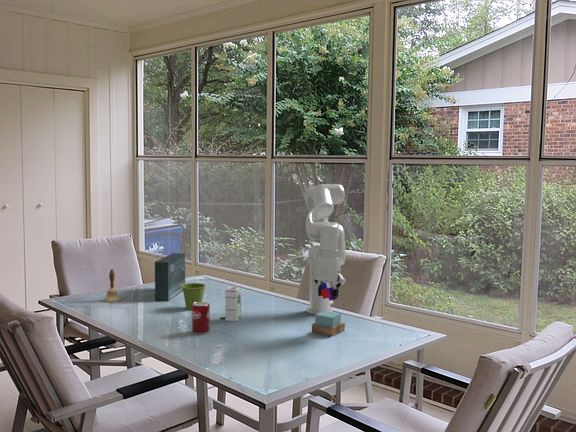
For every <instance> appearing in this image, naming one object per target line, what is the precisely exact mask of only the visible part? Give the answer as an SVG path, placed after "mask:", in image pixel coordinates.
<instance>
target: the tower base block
mask: <svg viewBox="0 0 576 432" xmlns="http://www.w3.org/2000/svg"><path fill="white" fill-rule="evenodd" d="M345 325H346V324H345V322H344V321H343V322H342V321H341V323H339V324H337V325H336V326H334V327H329V326H322V325H316V324H315V322H314V323H313V322H312V324H311V333H312V334H318V335H323V336H326V335H327V337H331V336H333V337H334V336H335V337H336V336H338V335H339V334H341V332H342V333H344V332H345V328H346V327H345ZM343 331H344V332H343Z"/></svg>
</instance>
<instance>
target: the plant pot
mask: <svg viewBox="0 0 576 432" xmlns="http://www.w3.org/2000/svg"><path fill="white" fill-rule="evenodd" d="M206 286H207V285H206V284H205V283H201V282H189V283H185V284H183V285H181V287H182V289H183V291H182V292H183V298H184V303H185V309H186V310H189V311H192V304H193V303H196V302H203V299H204V292H205V289H206Z"/></svg>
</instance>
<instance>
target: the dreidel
mask: <svg viewBox="0 0 576 432" xmlns="http://www.w3.org/2000/svg"><path fill="white" fill-rule="evenodd" d="M322 284H323V288H324V290H322V291H321V294H322V297H323V299H326V298H329V301H331V300H332V301H335V300H337V298H338V297H337V298H335V299H333V289H334V287H333V286H332V287H331V286H330V288H327V285H326V282H325V283H322Z"/></svg>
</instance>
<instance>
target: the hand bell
mask: <svg viewBox="0 0 576 432" xmlns="http://www.w3.org/2000/svg"><path fill="white" fill-rule="evenodd" d="M108 273H109V276H108V277H109V282H110V285H109V286H110V288H109V289H107V292H106V296H105V298H104V299H103V302H105V303H117V302H120V301H122V300H121V298H120V297H119V296H118V291H117V289H116V288H115V285H114V284H115V283H114V282H115V277H116V275H115V272H114V269H110V271H109V272H108Z"/></svg>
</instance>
